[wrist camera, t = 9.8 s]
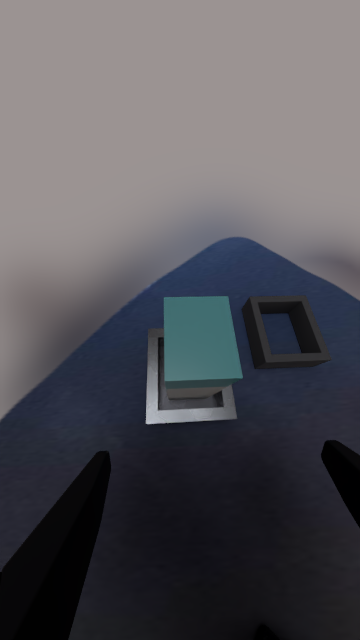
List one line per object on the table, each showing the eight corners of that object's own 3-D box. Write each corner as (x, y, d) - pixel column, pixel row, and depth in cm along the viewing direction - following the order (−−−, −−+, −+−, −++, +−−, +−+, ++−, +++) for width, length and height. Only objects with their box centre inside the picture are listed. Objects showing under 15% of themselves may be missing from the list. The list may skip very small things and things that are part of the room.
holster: (313, 366, 23) (331, 359, 20) (255, 368, 23) (265, 362, 20) (292, 307, 27) (305, 295, 24) (241, 308, 26) (249, 296, 24)
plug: (206, 398, 21) (242, 377, 10) (168, 400, 20) (164, 381, 10) (201, 353, 23) (227, 296, 12) (167, 354, 23) (163, 297, 12)
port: (227, 418, 20) (237, 418, 17) (150, 422, 20) (145, 423, 17) (215, 338, 24) (222, 326, 21) (151, 340, 24) (148, 328, 21)
